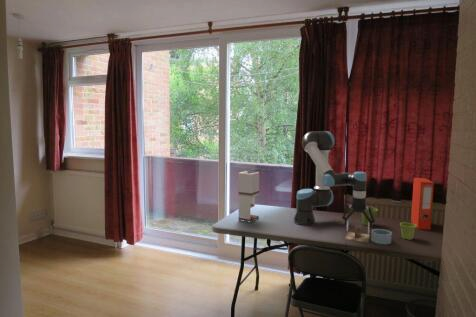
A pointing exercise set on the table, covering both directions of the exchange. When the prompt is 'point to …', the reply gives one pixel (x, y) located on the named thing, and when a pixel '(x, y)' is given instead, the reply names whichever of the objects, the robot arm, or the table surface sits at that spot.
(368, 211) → the plant pot
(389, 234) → the slate-blue bowl
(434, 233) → the table surface
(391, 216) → the table surface
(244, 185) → the white coffee grinder
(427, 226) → the file binder
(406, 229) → the plant pot
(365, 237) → the oak board
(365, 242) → the charcoal mat
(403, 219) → the table surface
